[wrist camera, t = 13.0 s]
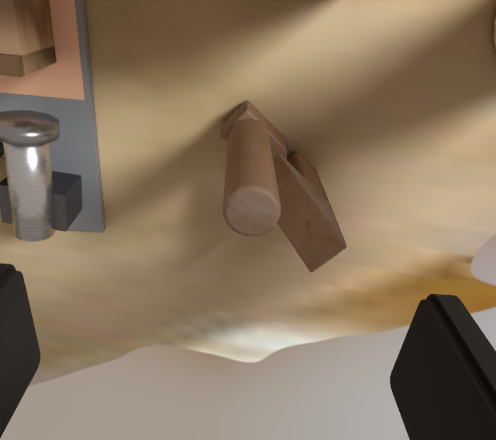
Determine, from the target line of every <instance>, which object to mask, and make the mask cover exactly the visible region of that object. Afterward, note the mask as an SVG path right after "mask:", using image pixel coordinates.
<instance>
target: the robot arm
mask: <svg viewBox="0 0 496 440" xmlns="http://www.w3.org/2000/svg"><path fill="white" fill-rule="evenodd" d="M493 36H494V43H495V50H496V16H495V20H494V35H493ZM39 362H40V350H39V345H38V341H37V336H36V332H35V327H34V323H33V318H32V314H31V309H30V305H29V300H28V296H27V291H26V287H25V283H24V278H23V275H22V273H21V272H20V271H16V269H15V267H14V266H13V265H11V264H2V263H0V438H1V436H2V434H3V432H4V430H5V428H6V426H7V425H8V423H9V421H10V419H11V417H12V415H13V413H14V412H15V410H16V408H17V406H18V404H19V402H20V400H21V398H22V397H23V395H24V393H25V391H26V389H27V387H28V385H29V384H30V382H31V380H32V378H33V376H34V374H35V372H36V371H37V368H38V366H39ZM390 385H391V389H392V392H393V395H394V398H395V401H396V403H397V406H398V408H399V412H400V414H401V417H402V419H403V422H404V425H405V428H406V431H407V433H408V436H409V439H410V440H496V351H495V350H494V348H493V347H492V345H491V344H490V342H489V341H488V339H487V338H486V337H485V335H484V334H483V332H482V331H481V329H480V328H479V326H478V325H477V323H476V322H475V321H474V319H473V318H472V316H471V315H470V313H469V312H468V310H467V309H466V307H465V306H464V305H463V303H462V302H461V300H460V299H459V298H458V297H457V296H454V295H440V294H430V295H429V296H428V297H427V298H426V300H425V299H424V300H421V301H420V303H419V305H418V307H417V310H416V312H415V315H414V317H413V320H412V322H411V325H410V328H409V330H408V332H407V335H406V337H405V340H404V342H403V345H402V347H401V350H400V353H399V355H398V358H397V360H396V362H395V365H394V367H393V370H392V372H391V376H390Z"/></svg>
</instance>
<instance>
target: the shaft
mask: <svg viewBox="0 0 496 440" xmlns="http://www.w3.org/2000/svg"><path fill="white" fill-rule="evenodd" d="M59 137H60V125H59V120H58V119H57V118H56V117H54V116H52V115H50V114H46V113H42V112H37V111H27V110H12V111H3V112H0V141H1V142H3V146H4V155H5V163H6V172H7V177H6V178H5V179H4V180H2V181H1V182H0V209H1V216H2V222H6V223H13V231H14V235H15V237H17V238H18V239H20V240H23V241H41V240H45V239H47V238H49V237H51V236H52V235H53V234H54V233H55V230H61V231H67V230H68V229H69V227H70V226H71V224H72V223H73V222H74V220H75V219H76V217H77V216H78V215H79V213H80V212H81V210H82V175H75V174H69V173H63V172H57V171H52V163H51V146H50V143H51V142H54V141H56V140H57V139H58V138H59Z"/></svg>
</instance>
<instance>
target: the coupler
mask: <svg viewBox="0 0 496 440" xmlns="http://www.w3.org/2000/svg"><path fill="white" fill-rule="evenodd" d="M54 63H56V53H55V45H54V37H53V28H52V20H51V11H50V3H49V0H0V75H3V76H13V77H22V76H25V75H27V74H29V73H32V72H34V71H37V70H39V69H41V68H44V67H46V66H49V65H51V64H54Z"/></svg>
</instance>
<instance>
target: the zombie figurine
mask: <svg viewBox="0 0 496 440" xmlns="http://www.w3.org/2000/svg"><path fill="white" fill-rule="evenodd" d="M3 154H4V146H3V143H1V142H0V157H2V156H1V155H3Z"/></svg>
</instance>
